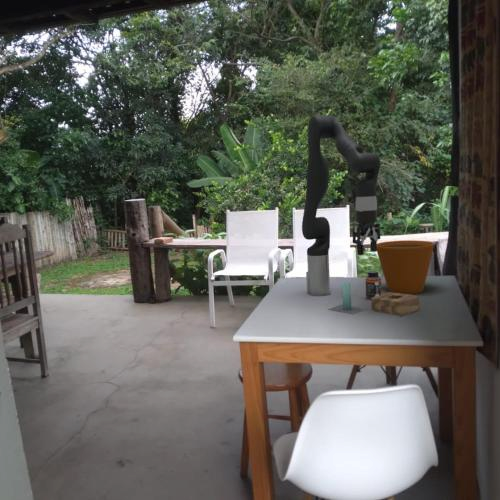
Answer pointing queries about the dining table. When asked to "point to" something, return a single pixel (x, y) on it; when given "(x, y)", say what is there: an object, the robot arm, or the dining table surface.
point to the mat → (352, 311)
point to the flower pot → (405, 264)
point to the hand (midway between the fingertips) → (367, 253)
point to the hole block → (395, 303)
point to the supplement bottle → (373, 285)
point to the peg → (346, 295)
